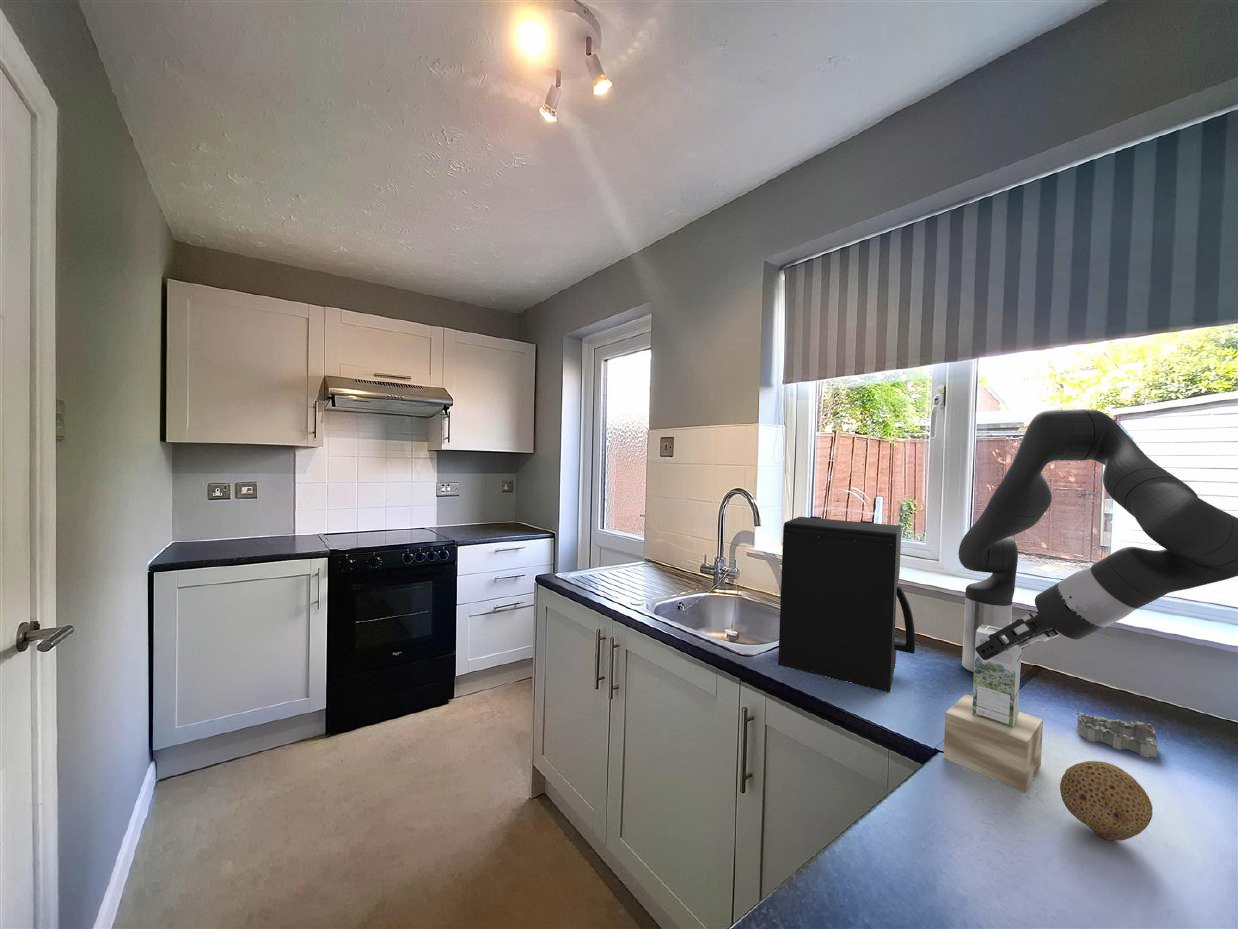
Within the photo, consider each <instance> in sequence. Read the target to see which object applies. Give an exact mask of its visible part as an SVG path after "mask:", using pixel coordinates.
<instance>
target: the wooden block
mask: <svg viewBox="0 0 1238 929" xmlns="http://www.w3.org/2000/svg"><path fill="white" fill-rule="evenodd" d="M972 705H973V695H970V694H968V693H966V694H964V695H963V696H962V697H961V698H960V699H958V701H957V702H956V703H954V704H953V705H952V706H951V707H950V708H948V710H946V712H945V716H944V717H945V720H944V739H943V758H944V759H946V760H948V761H951V762H953V763H956V764H958V765H960V766H963V767H965V768H968V769H969V770H972V771H975V772H977V773H980V774H981V775H984V776H985V777H988V778H990V779H993V780H995V781H998V782H1000V783H1002V784H1005V785H1007V786H1010V787H1011V788H1014V789H1016V790H1019V791H1021V792H1024V793H1026V791H1027V789H1028V788H1029V786H1030V784H1031V783H1032V781H1033V779H1034V778H1035V776H1036V775H1037V773H1038V771H1039V769H1040V768H1041V765H1042V751H1043V750H1042V749H1043V748H1042V747H1043V727H1044V719H1043V718H1039V717H1037V716H1034V715H1031V714H1027V713H1025V712H1021V711H1019V713H1018V717H1017V719H1016V721H1015V724H1014V726H1013V727H1011V726H1008V725H1005V724H1002V723H999V722H996V721H993V720H990V719H987V718H984V717H980V716H977V715H974V714H972Z"/></svg>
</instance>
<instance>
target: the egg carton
mask: <svg viewBox="0 0 1238 929" xmlns="http://www.w3.org/2000/svg"><path fill="white" fill-rule="evenodd" d="M1076 712H1077V713H1076V716H1077V725H1076V726H1077V735H1078V736H1081V737H1083V738H1085V739H1086V741H1089V742H1093V743H1095V742H1102V743H1103V744H1107V745H1108V746H1110V747H1112V748H1113V749H1117V750H1120V751H1121V750H1129V751H1132V752H1135V753H1136V754H1138V755H1139V756H1141V757H1143V758H1148V759H1149V757H1153V758H1157V757H1158V748H1159V742H1158V738H1157V736H1156V732H1155V727H1154V725H1153V724H1152V723H1146V722H1145V721H1138V720H1131V719H1129V720H1128V721H1127V722H1126V721H1123V720H1121V719H1116V720H1115V719H1110V718H1105V717H1103V716H1098V715H1097V716H1095V715H1092V716H1091V715H1090V714H1089V715H1087V714H1086V713H1083V712H1080V711H1076Z"/></svg>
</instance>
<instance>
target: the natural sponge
mask: <svg viewBox="0 0 1238 929" xmlns="http://www.w3.org/2000/svg"><path fill="white" fill-rule="evenodd" d="M1059 790H1060V796H1061V800H1062V802H1063V804H1064V806H1065V807H1066V809H1067V810H1068V812H1069V813H1070V814H1071V815H1073V816H1074V818H1076V819H1077V820H1078V821H1080V822H1081V823H1083V824H1084V825H1085V826H1087V827H1088V828H1089V829H1090V830H1091V831H1092V832H1093V833H1094V834H1095V835H1097V836H1099V837H1100V838H1103V839H1104V840H1110V841H1114V842H1115V841H1126V840H1128V839H1131V838H1134V837H1136V836H1138V835H1140V834H1141V833H1142V832H1144V830H1146V829H1147V828H1148V826H1149V825H1150V823H1151V822H1152V819H1153V804H1152V802H1151V800H1150V798H1149V795H1148V794H1147V791H1146V790H1145V789H1144V787H1142V786H1141V784H1140V783H1139V782H1138V781H1137V780H1136V779H1135V778H1134V777H1133V776H1132V775H1131V774H1129V773H1128V772H1127V771H1125V770H1123V769H1122V768H1120V767H1118V766H1117V765H1115V764H1112V763H1109V762H1106V761H1101V760H1100V761H1096V760H1090V761H1089V760H1088V761H1082V762H1077V763H1075V764H1074V765H1072V766H1070V767H1068V768H1066V769H1065V773H1064V774H1062V777H1061V778H1060V786H1059Z"/></svg>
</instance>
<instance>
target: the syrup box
mask: <svg viewBox="0 0 1238 929" xmlns="http://www.w3.org/2000/svg"><path fill="white" fill-rule="evenodd" d="M1001 629H1002V628H997V627H993V626H988V625H983V624H982V625H981V626H979V628H978V629H977V631H976V637H975V648H976V647H977V646H979V645H981V644H983V643H985V642H986V641H988V640H990V639H989V638H988V636H990V634H994V633H996V632H997V631H999V630H1001ZM1002 639H1003V640H1004V641H1005V642H1006V644H1007V643H1009V640H1008V639H1007V638H1006V636H1002ZM1022 650H1023V649H1022V648H1020V647H1018V646H1015V647H1013V648H1011V649H1009V650H1008V651H1004V652H1002V653H1000V654H998V655H996V656H994V657H992V658H990V659H988V660H983V659H982V658H981V657H980V655H979V654H978V653H977V652H976V650H975V661H974V672H973V686H972V688H973V689H972V696H973V705H972V714H974V715H977V716H980V717H984V718H987V719H990V720H993V721H996V722H999V723H1002V724H1005V725H1008V726H1011V727H1013V726H1014V724H1015V721H1016V719H1017V717H1018V713H1019V712H1020V711H1019V708H1020V702H1019V700H1020V698H1019V697H1020V683H1021V682H1020V680H1021V679H1020V678H1021V664H1022V662H1021V661H1022Z"/></svg>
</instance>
